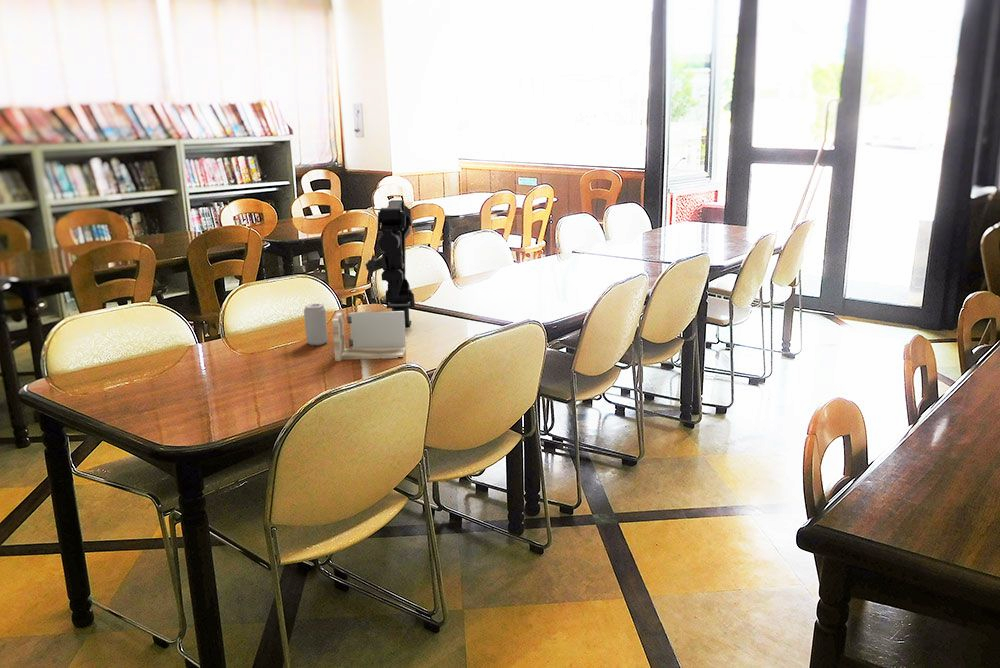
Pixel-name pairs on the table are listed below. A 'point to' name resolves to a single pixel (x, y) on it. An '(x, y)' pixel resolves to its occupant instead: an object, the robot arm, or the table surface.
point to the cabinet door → (377, 329)
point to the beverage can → (315, 324)
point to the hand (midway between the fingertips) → (395, 298)
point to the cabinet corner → (358, 352)
